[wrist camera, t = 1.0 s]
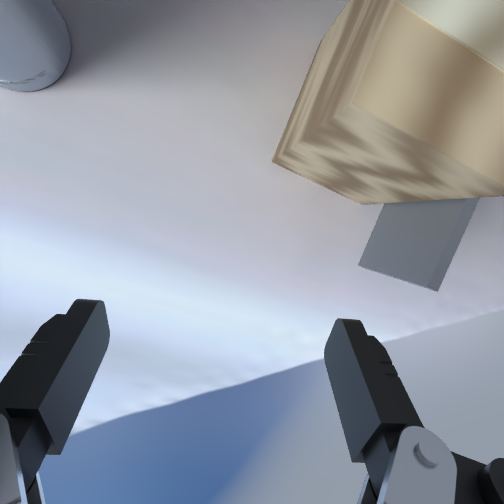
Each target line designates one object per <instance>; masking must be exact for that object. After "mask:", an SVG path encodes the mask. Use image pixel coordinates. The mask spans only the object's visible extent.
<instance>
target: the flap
mask: <svg viewBox="0 0 504 504" xmlns="http://www.w3.org/2000/svg"><path fill="white" fill-rule="evenodd" d="M479 198H480V197H479ZM479 198H462V199H446V200H429V201H413V202H396V203H385V204H384V206H383V208H382V211H381V213H380V215H379V218H378V220H377V222H376V225H375V227H374V229H373V232H372V234H371V236H370V239H369V241H368V243H367V246H366V248H365V250H364V253H363V255H362V257H361V259H360V262H359V264H358V265H359V266H361V267H364V268H366V269H369V270H372V271H375V272H378V273H381V274H384V275H388V276H391V277H394V278H397V279H400V280H403V281H406V282H409V283H412V284H415V285H418V286H421V287H425V288H428V289H431V290H434V291H437V292H438V290H439V287H440V285H441V283H442V281H443V278H444V276H445V274H446V272H447V270H448V267H449V265H450V263H451V261H452V258H453V256H454V254H455V252H456V249H457V247H458V245H459V243H460V240H461V238H462V236H463V234H464V231H465V229H466V227H467V225H468V223H469V220H470V218H471V216H472V214H473V211H474V209H475V207H476V205H477V202H478V200H479Z"/></svg>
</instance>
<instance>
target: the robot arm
mask: <svg viewBox="0 0 504 504" xmlns="http://www.w3.org/2000/svg"><path fill="white" fill-rule="evenodd" d="M70 51H71V43H70V35H69V32H68V29H67V26H66V24H65V22H64V20H63V18H62V16H61V15H60V13H59V12H58V10H57V9H56V7H55V6H54V4H53V3H52V2H51V0H0V87H3V88H6V89H10V90H14V91H22V92H26V91H36V90H39V89H42V88H45V87H47V86H49V85H50V84H52V83H54V82H55V81H56V80H57V79H58V78H59V77H60V76H61V75H62V73H63V72H64V70H65V69H66V67H67V64H68V61H69V58H70ZM109 338H110V331H109V325H108V320H107V314H106V309H105V304H104V302H103V301H101V300H87V299H77V300H75V301H74V303H73V304H72V306H71V307H70V309H69V310H68V312H67V313H66V315H65V314H56V315H55V316H54V317H52V318H51V319H50V320H48V321H47V322H46V323H44V324H43V325H42V326H41V327H40V328H39V329H38V331H37V332H36V334H35V335H34V336H33V338H32V339H31V342H30V344H28V345H27V346H26V348H25V349H24V350H23V352H22V355H21V356H19V357H18V359H17V360H16V362H15V363H14V364H13V366H12V367H11V368H10V370H9V371H8V373H7V374H6V375H5V377H4V378H3V380H2V381H1V382H0V504H45V500H44V495H43V490H42V486H41V481H40V476H39V472H38V470H39V468H40V466H41V463H42V461H43V459H44V457H45V455H46V454H48V455H60V454H61V452H62V450H63V448H64V445H65V443H66V441H67V439H68V436H69V434H70V432H71V430H72V427H73V425H74V423H75V420H76V418H77V416H78V414H79V411H80V409H81V407H82V405H83V402H84V400H85V398H86V396H87V393H88V391H89V389H90V387H91V384H92V382H93V380H94V377H95V375H96V373H97V371H98V368H99V366H100V364H101V362H102V359H103V357H104V355H105V353H106V350H107V347H108V344H109ZM324 359H325V364H326V368H327V372H328V375H329V379H330V383H331V386H332V390H333V394H334V397H335V401H336V404H337V408H338V412H339V416H340V419H341V423H342V427H343V430H344V434H345V438H346V442H347V445H348V449H349V452H350V456H351V460H352V462H361V463H365V464H366V468H367V471H368V474H367V475H366V478H365V480H364V484H363V487H362V490H361V493H360V496H359V499H358V502H357V504H504V458H498V459H495V460H493V461H492V462H491V463H489V464H488V465H485V464H482V463H479V462H477V461H475V460H472V459H469V458H467V457H464V456H461V455H459V454H456V453H454V452H451V451H450V450H449V448H448V447H447V446H446V445H445V443H444V442H443V441H442V440H441V439H440V438H439V437H438V436H437V435H435V434H434V433H432V432H431V431H429V430H427V429H425V428H424V426H423V424H422V423H421V421H420V419H419V417H418V414H417V413H416V410H415V408H414V406H413V404H412V402H411V400H410V398H409V396H408V394H407V392H406V390H405V388H404V386H403V384H402V382H401V380H400V378H399V377H398V374H397V371H396V369H395V367H394V365H392V361H391V359H390V357H389V355H388V353H387V351H386V349H385V348H384V347H383V345H382V344H381V343H380V342H379V341H378V340H377V339H376V338H375V337H374V336H368V335H367V333H366V331H365V328H364V326H363V324H362V322H361V321H360V320H354V319H340V318H338V319H337V320H336V321H335V323H334V326H333V328H332V331H331V333H330V336H329V338H328V340H327V343H326V345H325V350H324Z"/></svg>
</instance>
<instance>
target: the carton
mask: <svg viewBox="0 0 504 504" xmlns="http://www.w3.org/2000/svg"><path fill="white" fill-rule="evenodd" d="M272 162H273V163H275V164H277V165H279V166H282V167H284V168H286V169H288V170H290V171H292V172H294V173H296V174H298V175H301V176H303V177H305V178H307V179H309V180H311V181H313V182H315V183H317V184H320V185H322V186H324V187H326V188H328V189H330V190H332V191H334V192H336V193H339V194H341V195H343V196H345V197H347V198H349V199H351V200H353V201H355V202H358V203H360V204H362V205H363V204H379V203H396V202H413V201H429V200H446V199H462V198H479V197H495V196H504V0H349V2H348V3H347V5H346V6H345V7H344V9H343V10H342V12H341V13H340V15H339V16H338V17H337V19H336V20H335V22H334V23H333V25H332V26H331V27H330V29H329V30H328V32H327V33H326V35H325V36H324V37H323V39H322V40H321V42H320V45H319V47H318V50H317V52H316V54H315V57H314V59H313V62H312V64H311V67H310V69H309V72H308V74H307V77H306V79H305V81H304V84H303V86H302V89H301V91H300V94H299V96H298V99H297V101H296V103H295V106H294V108H293V111H292V113H291V116H290V118H289V121H288V123H287V126H286V128H285V130H284V133H283V135H282V138H281V140H280V143H279V145H278V148H277V150H276V153H275V155H274V157H273V160H272Z"/></svg>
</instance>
